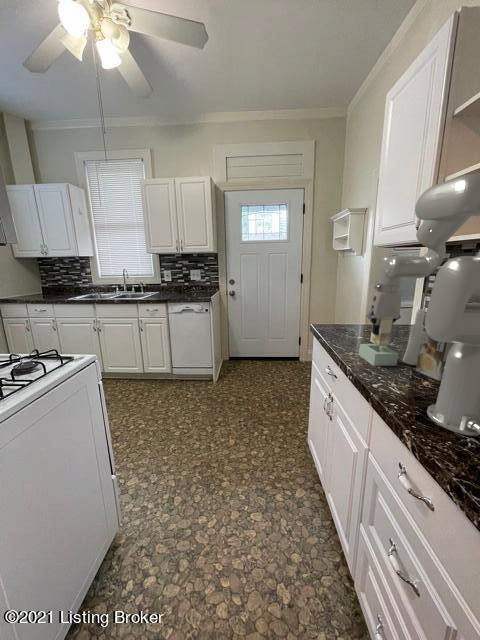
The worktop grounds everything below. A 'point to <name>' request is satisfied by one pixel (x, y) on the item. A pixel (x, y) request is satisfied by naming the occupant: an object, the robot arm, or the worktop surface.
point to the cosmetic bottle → (415, 339)
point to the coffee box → (432, 357)
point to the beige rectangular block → (383, 332)
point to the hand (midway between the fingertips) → (380, 333)
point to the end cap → (378, 355)
